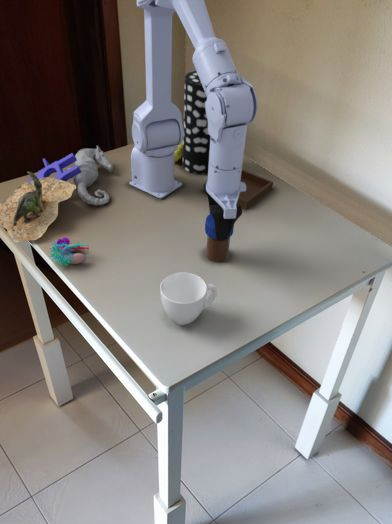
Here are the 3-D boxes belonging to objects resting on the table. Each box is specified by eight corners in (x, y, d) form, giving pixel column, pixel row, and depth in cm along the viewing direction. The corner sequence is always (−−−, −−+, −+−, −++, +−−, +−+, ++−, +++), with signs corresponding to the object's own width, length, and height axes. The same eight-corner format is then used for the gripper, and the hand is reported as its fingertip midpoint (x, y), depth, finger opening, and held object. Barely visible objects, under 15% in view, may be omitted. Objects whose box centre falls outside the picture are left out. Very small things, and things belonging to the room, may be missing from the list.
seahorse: (130, 196, 107) (107, 140, 117) (77, 193, 102) (58, 135, 112) (124, 214, 111) (103, 159, 121) (73, 212, 106) (55, 155, 116)
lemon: (172, 143, 125) (181, 156, 127) (162, 155, 119) (172, 168, 121) (184, 133, 122) (193, 147, 124) (174, 146, 117) (184, 159, 119)
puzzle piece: (85, 181, 106) (81, 176, 104) (37, 208, 107) (33, 204, 106) (72, 148, 109) (68, 143, 108) (26, 175, 111) (22, 170, 109)
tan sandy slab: (-37, 208, 98) (-12, 236, 104) (5, 220, 90) (29, 250, 96) (23, 151, 104) (43, 181, 110) (67, 157, 97) (86, 189, 102)
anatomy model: (90, 225, 95) (53, 222, 94) (86, 252, 89) (47, 248, 88) (90, 247, 98) (55, 244, 97) (86, 273, 93) (49, 270, 92)
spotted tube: (200, 153, 125) (205, 67, 110) (223, 167, 121) (231, 79, 106) (175, 163, 121) (176, 76, 106) (198, 177, 117) (203, 88, 102)
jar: (201, 256, 97) (203, 224, 92) (213, 245, 100) (215, 213, 94) (221, 265, 96) (224, 232, 90) (232, 253, 98) (236, 221, 93)
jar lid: (235, 239, 92) (237, 227, 90) (207, 240, 92) (208, 229, 90) (230, 222, 96) (231, 211, 94) (202, 224, 95) (203, 212, 93)
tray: (205, 191, 113) (205, 184, 112) (232, 172, 119) (233, 165, 118) (246, 209, 109) (247, 202, 108) (272, 189, 115) (273, 181, 114)
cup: (154, 307, 87) (153, 277, 82) (206, 294, 90) (208, 265, 85) (169, 337, 83) (169, 308, 77) (223, 323, 85) (227, 294, 80)
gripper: (258, 183, 79) (247, 252, 89) (240, 141, 89) (232, 207, 99) (214, 185, 78) (209, 254, 88) (201, 142, 88) (197, 209, 98)
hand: (219, 230), depth 93 cm, fingers closed on jar lid, 5 cm apart
